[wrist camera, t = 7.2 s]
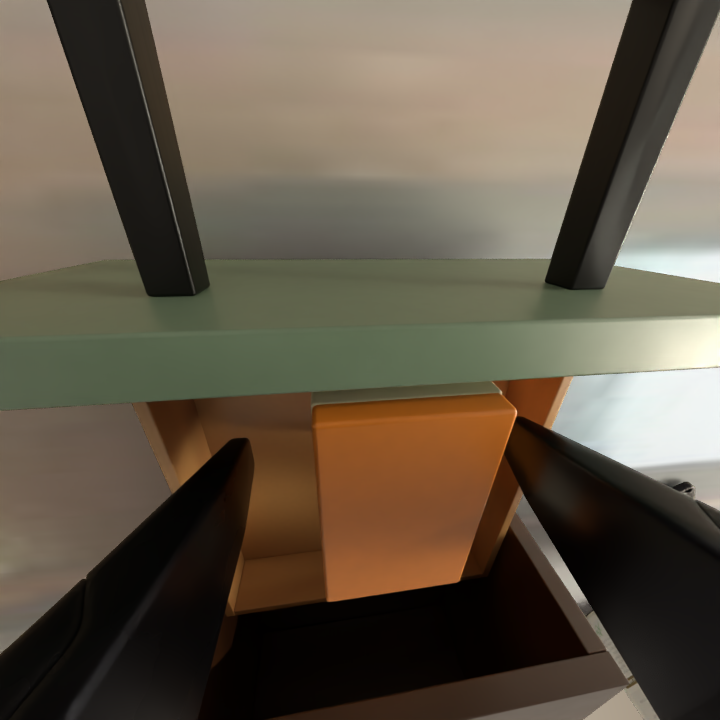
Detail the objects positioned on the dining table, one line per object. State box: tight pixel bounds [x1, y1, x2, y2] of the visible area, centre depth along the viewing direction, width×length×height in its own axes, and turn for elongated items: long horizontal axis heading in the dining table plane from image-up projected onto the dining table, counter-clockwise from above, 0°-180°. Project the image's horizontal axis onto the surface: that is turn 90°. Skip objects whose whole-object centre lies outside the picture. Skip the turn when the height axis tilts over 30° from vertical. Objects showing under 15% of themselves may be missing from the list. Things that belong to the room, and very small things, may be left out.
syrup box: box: [586, 611, 660, 720], centre depth 25 cm, size 6×6×14 cm
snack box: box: [311, 381, 517, 602], centre depth 8 cm, size 6×3×6 cm, turn 179°
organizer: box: [198, 512, 630, 720], centre depth 16 cm, size 16×16×9 cm
